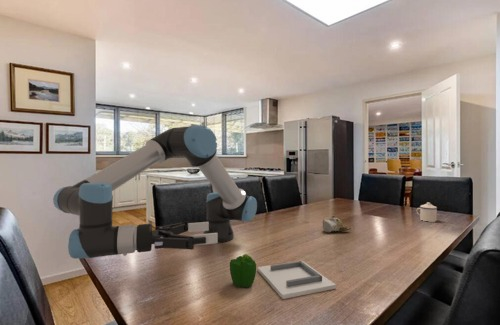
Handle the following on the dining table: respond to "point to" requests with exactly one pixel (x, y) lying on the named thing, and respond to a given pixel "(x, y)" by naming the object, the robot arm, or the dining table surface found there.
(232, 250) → the dining table surface
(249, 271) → the bell pepper
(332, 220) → the garlic bulb
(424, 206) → the teacup with lid
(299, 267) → the board
